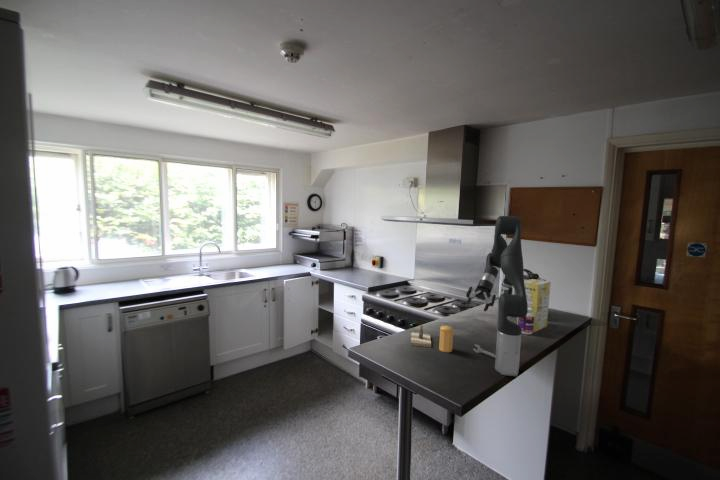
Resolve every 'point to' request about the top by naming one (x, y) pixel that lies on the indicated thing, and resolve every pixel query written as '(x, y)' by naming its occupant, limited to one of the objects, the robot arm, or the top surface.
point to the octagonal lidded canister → (446, 339)
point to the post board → (420, 338)
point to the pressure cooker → (508, 287)
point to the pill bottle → (527, 322)
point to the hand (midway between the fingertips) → (476, 307)
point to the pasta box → (538, 301)
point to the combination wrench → (483, 351)
